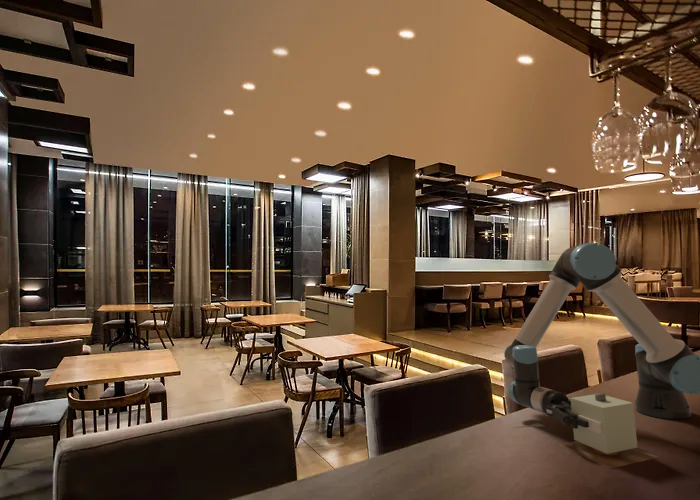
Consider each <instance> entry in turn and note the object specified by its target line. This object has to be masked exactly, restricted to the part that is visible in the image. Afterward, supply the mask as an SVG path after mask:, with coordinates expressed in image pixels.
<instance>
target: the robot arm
mask: <svg viewBox="0 0 700 500" xmlns="http://www.w3.org/2000/svg"><path fill="white" fill-rule="evenodd" d="M548 278H549V281H548V282H547V284H546V286H545V288H544V289H543V291H542V293H541V295H540V296H539V297H538V299H537V301H536V302H535V305H534V306H533V308H532V310H531V311H530V313H529V314H528V316H527V317H526V320H525V321H524V323H523V324H522V327H520V329H519V331H518V332H517V335H516V336H515V338H514V340H513V341H512V342H511V344H510V345H508V346H507V347H506V348H505V350H504V352H503V355H504V359H505V361H506V362H507V364H508V365H509V366H511V367H512V368H513V373H514V374H513V375H514V380H513V381H512V382H511V383H510V384H509V388H508V395H509V397H510V399H511V400H512V401H513V402H515V403H516V404H518V405H520V406H522V407H526V408H529V409H532V410H534V411H537V412H539V413H542V414H543V415H544V416H546V415H547V416H549V417H551V418H553V419H555V420H557V421H558V422H560V423H562V424H563V425H565V426H567V427H570V426H571V425H572V429H573V428H575V429H578V425H579V426H580V427H583V428H585V429H588V430H591V431H593V432H596V433H599V434H603V430H602V423H601V422H599V421H596V420H593V419H590V418H587V417H584V416H581V415H578V418H577V415H576V414H574V413H572V409H571V399H570V398H569V397H568V396H567V395H566V394H565V393H563V392H560V391H557V390H554V389H550V388H548V387H547V388H546V387H544V386H541V384H540V372H539V371H540V370H539V356H538V351H537V347H538V346H539V344H540V342H541V341H542V339H543V337H544V335H545V334H546V332H547V331H548V329H549V328H550V326H551V324H552V323H553V321H554V320H555V317H556V316H557V315H558V313H559V311H560V310H561V308H562V306H563V304H564V302H566V300H567V298H568V296H569V294H570V292H571V291H574V290H576V289H577V288H578V287H579V285H580V284H581V285H582V286H583V287H584V288H585V289H586V290H587V291H588V292H593V293H596V295H597V296H598V297H599V299H600V300H601V301H603V303H604V304H605V305H606V306H607V307H608V309H609V310H610V311H611V312H612V313H613V315H614V316H615V317H616V318H617V319H618V320H619V322H620V323H621V324H622V326H624V328H625V329H626V330H627V332H629V333H630V335H631V336H632V337H633V339H635V340H636V342H637V343H638V344H636V345H635V347H634V348H635V352H634V356H635V361H636V362H635V363H636V371H637V379H638V380H637V381H638V389H637V393H636V398H635V401H634V408H635V411H636V412H638V413H641V414H642V415H647V416H650V417H655V418H660V419H671V420H672V419H673V420H680V419H682V420H683V419H687V418H691V417H692V409H691V406H690V405H689V403H688V401H687V398H686V397H685V393H686V394H689V395H699V394H700V355H696V353H694V352H693V350H692V349H691V348H690V347H689V346H688V345H687V344H686V343H685V342H684V340H682V339H677V338H674V337H673V336H672V335H671V334H670V333H669V331H668V330H667V329H666V328H665V327H664V326H663V324H662V323H661V322H660V320H659V319H658V318H657V317H656V316H655V315H654V314H653V313H652V311H651V310H650V309H649V308H648V307H647V306H646V305H645V304H644V302H643V301H642V300H641V299H640V298H639V296H638V295H637V294H636V293H635V292H634V291H633V290H632V288H631V287H630V286H629V285H628V284H627V283H626V282H625V281H624V279H623V278H622V270H621V268H620V267H619V265H618V264H617V258H616V255H615V253H614V252H613V251H612V250H611V248H610V247H607V245H604V244H601V243H597V242H585V243H582V244H580V245H575V246H571V247H568V248H567V249H566V250H563V252H562V253H561V255H560V256H559V258H558V259H557V261H556V263H555V265H554V266H553V268H552V270H551V271H550V273H549V275H548Z"/></svg>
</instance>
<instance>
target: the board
mask: <svg viewBox="0 0 700 500" xmlns="http://www.w3.org/2000/svg"><path fill="white" fill-rule="evenodd" d="M557 446H560V447H561V448H563V449H566V450H568V451H570V452H572V453H574V454H577V455H579V456H581V457H583V458H586V459H587V460H590V461H592V462H595V463H597V464H599V465H600V466H602V467H605V468H607V469H609V470H610V469H615V468H619V467H624V466H628V465H632V464H636V463H642V462H644V461H645V462H646V461H649V460H654V459H655V460H656V459H659V458H660V457H659V456H656V455H654V454H652V453H649V452H646V451H644V450H642V449H640V448H639V449H638V448H632V449H628V450H623V451H619V454H618V455H604V454H600V453H597V452H595V451H594V450H593V449H592V447H590V446H588V445H585V444H583V443H581V442H578V441H576V440H574V441H569V442H564V443H558V444H557Z"/></svg>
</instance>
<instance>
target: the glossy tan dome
mask: <svg viewBox="0 0 700 500" xmlns="http://www.w3.org/2000/svg"><path fill="white" fill-rule="evenodd" d="M592 449H593V450H594V451H595V452H597V453H600V454H604V455H618V454H619V451H618V452H614V453H609V454H607V453H604V452H602V451H599V450H597V449H595V448H592Z"/></svg>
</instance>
